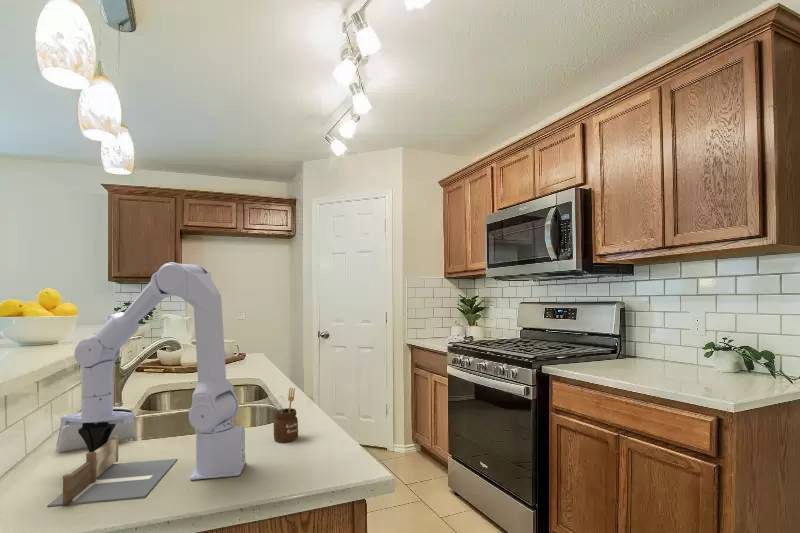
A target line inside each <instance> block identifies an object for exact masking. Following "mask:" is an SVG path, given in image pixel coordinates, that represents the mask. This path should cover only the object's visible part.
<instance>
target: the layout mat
mask: <svg viewBox="0 0 800 533" xmlns="http://www.w3.org/2000/svg"><path fill="white" fill-rule="evenodd" d="M177 461H178V458H170V459H168V458H167V459H158V460H144V461H134V462H133V461H132V462H122V463H121V462H119V463H113V464H112V465H111V466H110V467H109V468H107V469H106V470H105V471H104V472H103V473H101V474H100V475H99V476H98V477H96V482H94V483H92V484H89V485H88V486H87V487H86V488H85V489H84V490H82V491H81V492H80V493H79V494H78V495H76V496H75V497H74V498H73V499H72V502H71V503H70V505H69V506H71V505H81V504H92V503H103V502H105V503H106V502H111V501H112V502H113V501H125V500H136V499H145V498H147V496H148V495H149V494H150V492H151V491H152V490H154V489H155V487H156V486H157V484H158V483H159V482H160V481H161V480H162V478H163V477H165V475H166V474H167V473H168V471H169V470H170V469H171V468H172V467H173V466H174V464H175V463H176V462H177ZM61 506H63V492H62V493H61V494H60V495H59V496H57V497H56V498H55V499H53V500H52V501H51V502H50V503H48V504H47V508H51V507H61Z"/></svg>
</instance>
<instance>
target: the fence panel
mask: <svg viewBox="0 0 800 533" xmlns="http://www.w3.org/2000/svg"><path fill="white" fill-rule="evenodd" d="M94 452H96V477H98V476H99V475H100V474H101V473H103V472H104V471H105V470H106V469H107V468H109V467H110V466H111V465H112V464H116V463H117V462H119V441H118V436H117V435H116V436H112V437H111V440H109V441H108V442H107V443H105V444H104V445H102V446H101V447H100V448H98V449H97V450H95V451H94Z"/></svg>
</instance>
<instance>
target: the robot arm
mask: <svg viewBox="0 0 800 533" xmlns="http://www.w3.org/2000/svg"><path fill="white" fill-rule="evenodd" d="M174 296H175V297H177V298H178V297H179V298H181V299H182V300H184V302H187V303H188V304H189V305H190V306H192V308H193V317H194V319H193V320H194V332H195V333H194V334H195V335H194V336H195V350H196V368H197V370H196V371H197V385H196V387H195V389H194V391H193V393H192V395H191V398H192V399H191V400H192V402H191V406H190V409H189V412H188V420H189V424H190V426H191V427H192V428H193V429H194V433H195V451H196V452H195V460H196V461H195V466H196V468H195V469H194V471H193V473H192V474H191V475H190V477H189V480H190V481H193V480H194V481H195V480H206V479H215V478H227V477H236V476H237V477H238V476H240V475H241V474H242V471H243V469H244V468H245V467H244V466H245V464H246V462H247V461H246V431H245V430H246V429H245V426H244V425H234V417H235V416H236V415H237V413H238V411H239V408H240V406H239V404H240V403H239V400H238V397H237V396H236V394H235V391H234V384H233V382H230V381H229V380H228V379H227V371H226V370H227V369H226V357H225V356H226V354H225V340H224V338H225V337H224V323H223V319H224V318H223V305H222V304H223V303H222V302H223V301H222V295H221V293H220V291H219V289H218V287H217V286H216V284H215V282H214V281H213V279H212V273H211V271H209V270H208V269H206V268H205V267H203V266H202V265H199V264H195V263H193V264H189V263H187V264H186V263H178V262H172V261H171V262H167V263H164V264H163V265H161V266H160V268H159V269H158V270H157V271H156V272H155V273H153V274H152V275H151V278H150V281H149V283H148V284H147V285H146V287H144V288H143V290H142V291H141V292H140V293H139V294H138V295H137V297H135V299H134V301H133V302H131V304H130V305H129V306H128V307H127V308H126V309H125V311H124V312H121V311H120V312H116V313H114V314H110V315H108V317H107V321H106V322H105V323H104V324H103V325H102V326H101V327H100V328H99V329H98V330H95V332H93V336H91V337H90V338H85V339H81V340H80V341H79V342H78V344H77V345H76V347H75V348H74V352H73V353H74V354H73V355H74V358H75V359H74V360H75V361H76V363H77V364H78V365H79V366H81V369H80V370H81V375H80V376H81V377H80V379H81V392H80V393H81V401H80V402H81V404H80V405H81V407H80V408H81V414H77V413H75V414H74V413H72V414H64V415H63V416H61V417H60V427H61V426H67V425H82V428H80V429H79V430H78V433H79V434H80V435H81V437H82V438H83V440H84V441H85V443H86V445H87V447H86V448H87V450H88V453H89V452H94V451H95V450H97V449H98V448H100V447H101V446H102V445H104V444H105V443H107V442H108V439H109V437H110V434H111V433H112V431H113V429H114V427H115V425H116V424H130V423H132V422H134V423H135V414H134V412H133V413H123V412H113V407H114V369H115V368H116V360H117V359H118V358H119V356H120V352H121V348H122V347H123V346H124V345H125V344H126V343H127V342H128V341H129V340H130V339H131V338H132V337H133V336H134V335H135V334H136V333H137V332H138V331H139V328H140V326H139V322H140V321H141V320H142V319H143V318H144V317H146V315H148V314H149V313H150V312H151V311H152V310H153V309H154V308H156V306H158V305H159V304H160V303H161V302H162V301H163V300H164V299H166V298H170V297H174Z"/></svg>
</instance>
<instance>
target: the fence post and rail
mask: <svg viewBox="0 0 800 533" xmlns="http://www.w3.org/2000/svg"><path fill="white" fill-rule="evenodd" d="M85 455H86V456H85V462H84V463H83V464H81V465H80V466H79V467H78V468H76V469H75V470H74V471H72V472H71V473H68V474H64V475H62V493H63V505H62V506H63V507H66V506H71V505H70V503H71V502H72V499H73V498H74V497H75V496H76V495H78V494H79V493H80V492H81V491H82V490H84V489H85V488H86V487H87V486H88V485H89V484H92V483H94V482H96V452H89V451H88V452H87V453H86V454H85Z"/></svg>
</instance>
